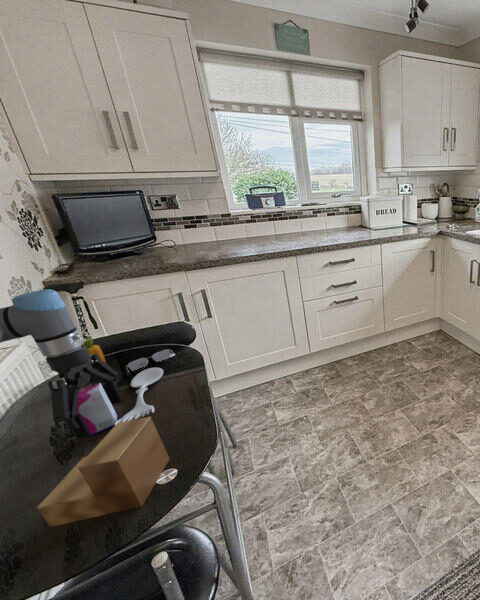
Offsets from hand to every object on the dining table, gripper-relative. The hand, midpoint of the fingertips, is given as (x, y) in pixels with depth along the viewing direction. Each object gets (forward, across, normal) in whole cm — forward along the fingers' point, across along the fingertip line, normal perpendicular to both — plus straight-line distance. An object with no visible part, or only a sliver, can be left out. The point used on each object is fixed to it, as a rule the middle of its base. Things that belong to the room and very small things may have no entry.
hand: (102, 418), depth 89 cm
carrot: (+2, +33, +20) cm, 39 cm away
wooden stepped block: (+2, -25, -17) cm, 30 cm away
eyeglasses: (+3, +31, +2) cm, 31 cm away
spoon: (+3, +11, -4) cm, 12 cm away
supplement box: (+2, 0, 0) cm, 3 cm away
